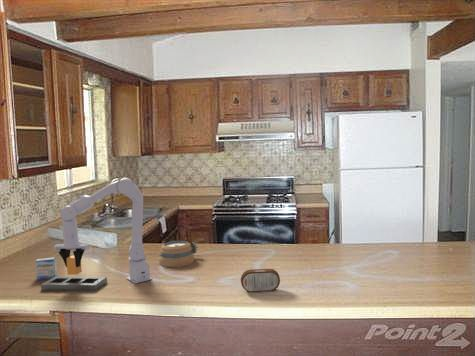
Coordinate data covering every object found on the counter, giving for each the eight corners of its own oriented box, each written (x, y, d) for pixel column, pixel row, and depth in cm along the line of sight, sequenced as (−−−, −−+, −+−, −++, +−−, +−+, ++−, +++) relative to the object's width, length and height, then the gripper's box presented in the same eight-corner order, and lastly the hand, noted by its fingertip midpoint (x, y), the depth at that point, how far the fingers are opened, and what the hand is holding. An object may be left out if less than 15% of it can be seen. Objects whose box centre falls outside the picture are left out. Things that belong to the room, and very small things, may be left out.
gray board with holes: (107, 282, 175) (106, 276, 174) (95, 291, 165) (95, 285, 165) (55, 282, 179) (55, 276, 178) (41, 290, 169) (40, 284, 168)
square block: (81, 271, 174) (80, 255, 173) (76, 274, 170) (75, 258, 169) (72, 271, 174) (71, 255, 174) (67, 274, 170) (66, 258, 170)
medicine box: (36, 280, 182) (35, 261, 182) (38, 277, 187) (37, 258, 186) (55, 277, 185) (54, 259, 184) (57, 274, 189) (55, 256, 188)
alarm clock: (151, 247, 195) (174, 236, 217) (152, 266, 196) (175, 253, 217) (183, 249, 189) (203, 237, 211) (184, 268, 190) (204, 254, 212)
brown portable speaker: (279, 288, 159) (279, 267, 158) (280, 291, 156) (280, 269, 155) (241, 290, 158) (240, 269, 158) (241, 293, 155) (240, 272, 155)
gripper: (91, 232, 172) (94, 263, 174) (60, 232, 175) (62, 263, 176) (82, 236, 166) (85, 268, 167) (50, 236, 168) (52, 268, 169)
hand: (73, 266), depth 171 cm, fingers closed on square block, 4 cm apart
